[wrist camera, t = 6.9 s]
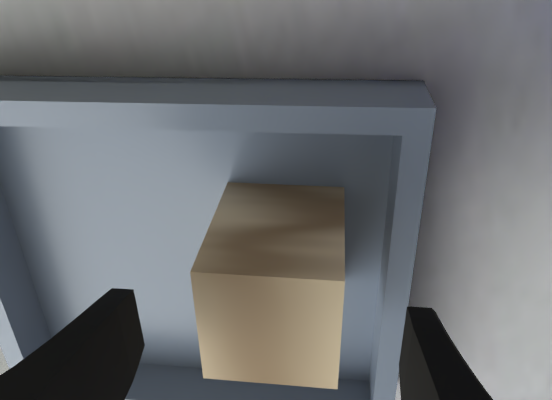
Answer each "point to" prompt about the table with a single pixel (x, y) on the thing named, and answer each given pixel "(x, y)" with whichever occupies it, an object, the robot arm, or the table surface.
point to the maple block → (272, 285)
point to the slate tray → (202, 208)
